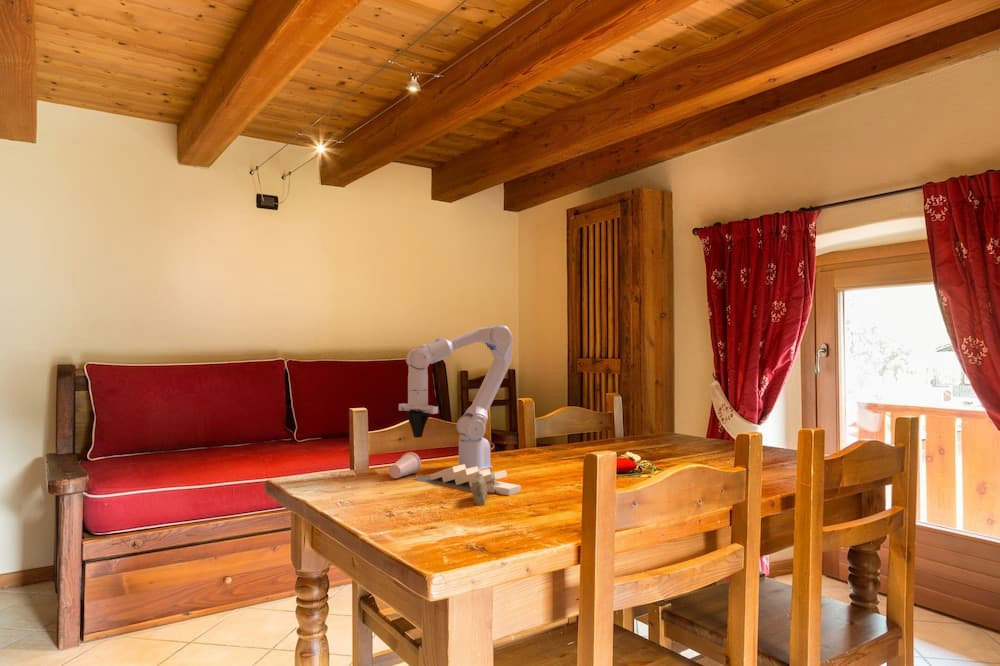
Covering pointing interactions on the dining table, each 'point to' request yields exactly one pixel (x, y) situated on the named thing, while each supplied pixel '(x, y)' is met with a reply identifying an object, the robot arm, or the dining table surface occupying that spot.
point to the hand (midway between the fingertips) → (417, 437)
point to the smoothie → (405, 465)
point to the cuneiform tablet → (480, 489)
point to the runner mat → (445, 483)
